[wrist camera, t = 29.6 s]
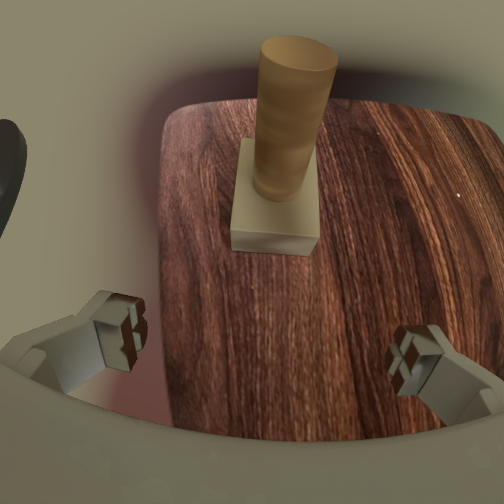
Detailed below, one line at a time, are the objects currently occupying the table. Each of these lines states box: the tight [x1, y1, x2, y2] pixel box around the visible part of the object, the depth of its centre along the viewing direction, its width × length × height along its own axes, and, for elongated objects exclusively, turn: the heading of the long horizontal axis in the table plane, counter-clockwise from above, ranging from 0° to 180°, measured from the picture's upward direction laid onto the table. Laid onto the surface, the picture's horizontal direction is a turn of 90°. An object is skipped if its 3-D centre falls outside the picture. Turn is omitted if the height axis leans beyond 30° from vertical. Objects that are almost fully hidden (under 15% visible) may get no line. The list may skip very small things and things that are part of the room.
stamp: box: [230, 36, 338, 256], centre depth 15 cm, size 5×7×12 cm
